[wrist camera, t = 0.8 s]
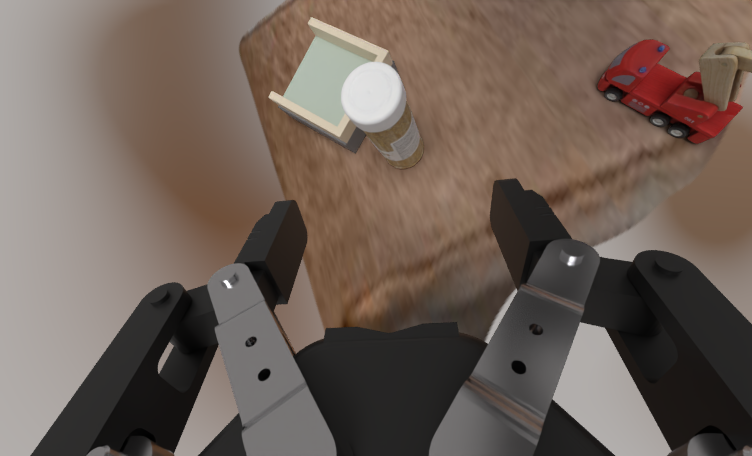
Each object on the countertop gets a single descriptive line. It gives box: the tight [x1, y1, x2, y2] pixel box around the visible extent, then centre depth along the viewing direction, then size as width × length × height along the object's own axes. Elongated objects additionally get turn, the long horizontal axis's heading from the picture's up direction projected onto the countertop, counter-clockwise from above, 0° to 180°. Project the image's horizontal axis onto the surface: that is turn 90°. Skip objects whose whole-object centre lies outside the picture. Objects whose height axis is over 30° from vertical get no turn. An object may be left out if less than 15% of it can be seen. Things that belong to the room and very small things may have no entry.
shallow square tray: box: [269, 17, 399, 153], centre depth 34 cm, size 10×10×5 cm
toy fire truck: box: [598, 39, 752, 144], centre depth 23 cm, size 3×14×10 cm, turn 50°
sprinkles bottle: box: [341, 62, 424, 169], centre depth 27 cm, size 5×5×14 cm
